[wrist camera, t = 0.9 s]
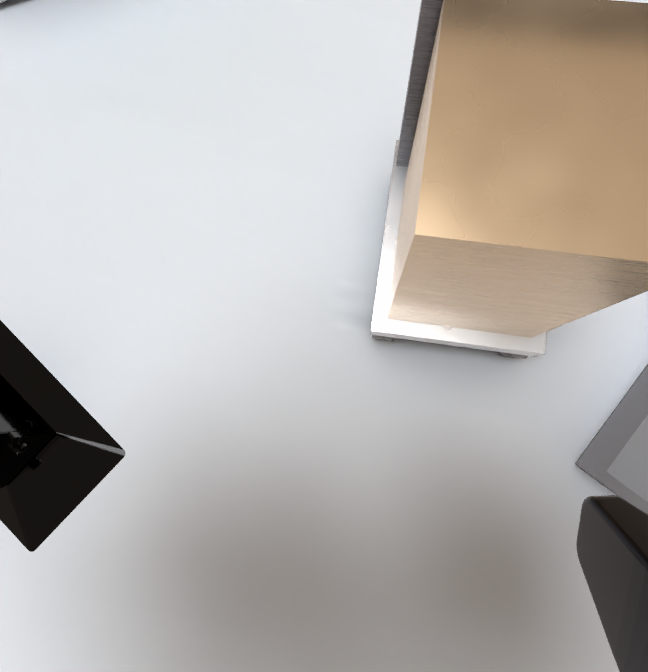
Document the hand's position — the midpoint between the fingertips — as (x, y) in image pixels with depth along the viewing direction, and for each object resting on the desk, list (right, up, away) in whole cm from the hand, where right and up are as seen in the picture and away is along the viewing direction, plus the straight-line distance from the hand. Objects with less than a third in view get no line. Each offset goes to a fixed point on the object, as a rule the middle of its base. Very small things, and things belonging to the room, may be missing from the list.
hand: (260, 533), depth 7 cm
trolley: (+6, +5, +14) cm, 16 cm away
